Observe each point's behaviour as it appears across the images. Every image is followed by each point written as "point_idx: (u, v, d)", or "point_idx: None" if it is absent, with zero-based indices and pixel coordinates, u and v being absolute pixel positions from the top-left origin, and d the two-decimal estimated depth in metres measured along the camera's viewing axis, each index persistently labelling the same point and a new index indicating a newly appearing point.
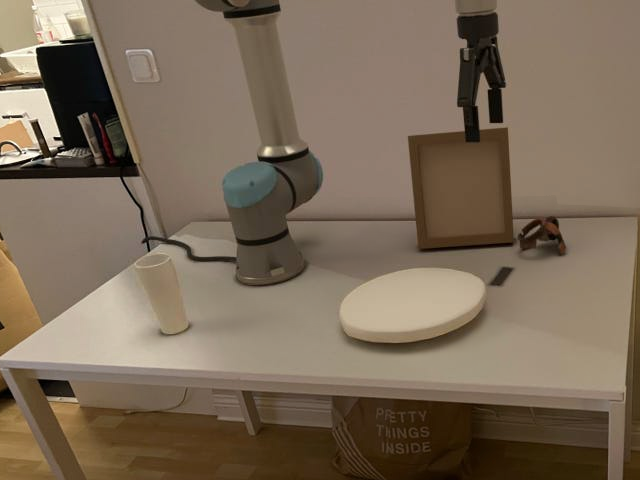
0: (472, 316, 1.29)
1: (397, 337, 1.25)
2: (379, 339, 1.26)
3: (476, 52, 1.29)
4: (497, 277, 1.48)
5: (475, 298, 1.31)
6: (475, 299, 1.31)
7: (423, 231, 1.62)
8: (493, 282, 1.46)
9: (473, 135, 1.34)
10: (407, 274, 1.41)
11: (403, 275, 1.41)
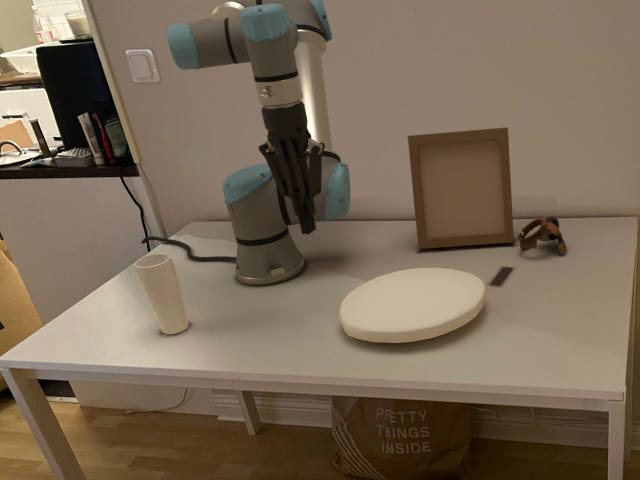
0: (472, 316, 1.29)
1: (397, 337, 1.25)
2: (379, 339, 1.26)
3: (268, 139, 1.28)
4: (497, 277, 1.48)
5: (475, 298, 1.31)
6: (475, 299, 1.31)
7: (423, 231, 1.62)
8: (493, 282, 1.46)
9: None
10: (407, 274, 1.41)
11: (403, 275, 1.41)
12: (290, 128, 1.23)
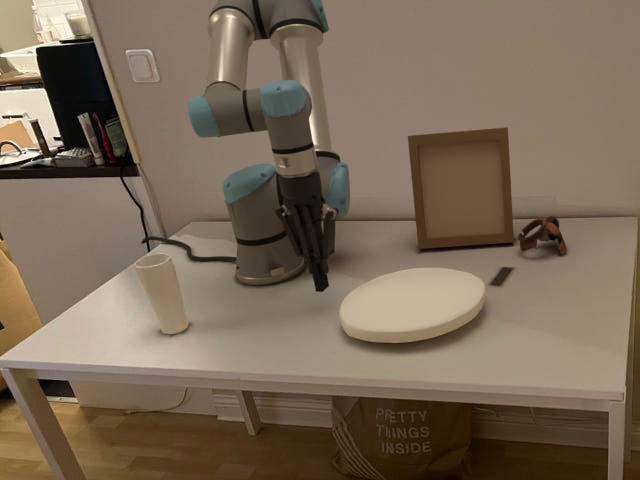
0: (472, 316, 1.29)
1: (397, 338, 1.25)
2: (379, 339, 1.26)
3: (284, 204, 1.34)
4: (497, 277, 1.48)
5: (475, 298, 1.31)
6: (475, 299, 1.31)
7: (423, 231, 1.62)
8: (493, 282, 1.46)
9: None
10: (407, 274, 1.41)
11: (403, 275, 1.41)
12: (306, 196, 1.29)
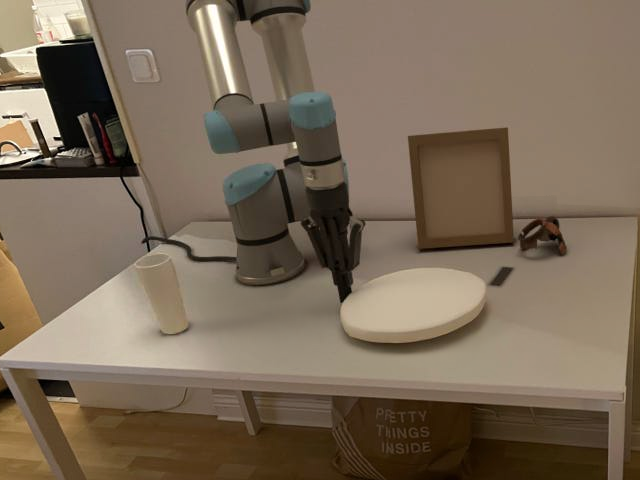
0: (473, 316, 1.29)
1: (398, 338, 1.25)
2: (380, 340, 1.26)
3: (310, 215, 1.33)
4: (497, 277, 1.48)
5: (476, 298, 1.31)
6: (476, 298, 1.30)
7: (423, 231, 1.62)
8: (493, 282, 1.46)
9: None
10: (408, 274, 1.41)
11: (404, 275, 1.41)
12: (333, 208, 1.28)
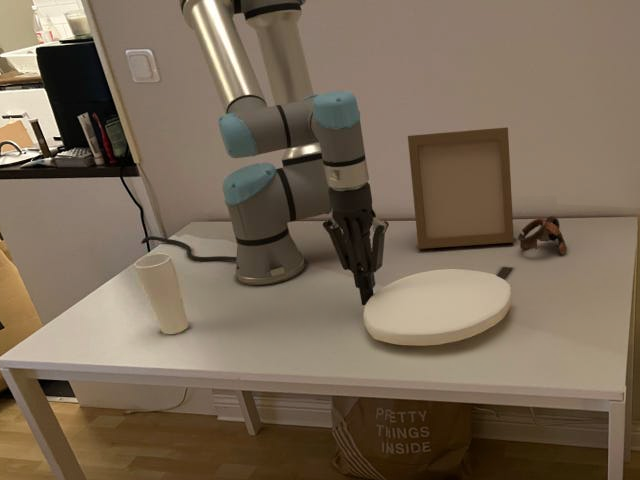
0: (500, 318, 1.27)
1: (425, 340, 1.23)
2: (406, 342, 1.25)
3: (332, 217, 1.32)
4: None
5: (502, 300, 1.29)
6: (502, 300, 1.29)
7: (423, 231, 1.62)
8: None
9: None
10: (430, 276, 1.40)
11: (426, 277, 1.39)
12: (357, 209, 1.26)
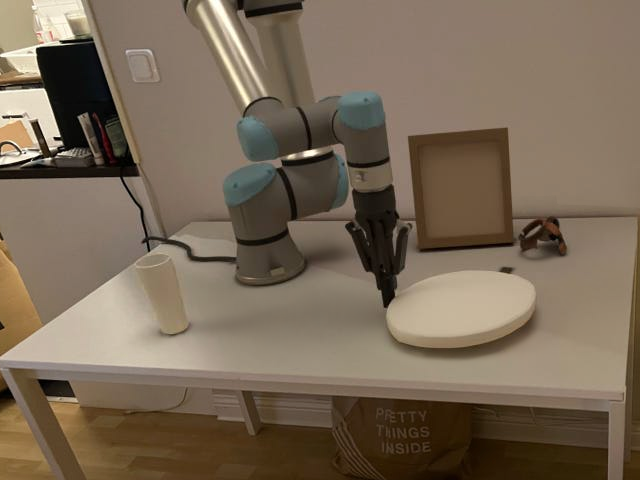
0: (526, 319, 1.26)
1: (452, 343, 1.22)
2: (432, 345, 1.23)
3: (355, 218, 1.30)
4: None
5: (527, 301, 1.28)
6: (528, 301, 1.28)
7: (423, 231, 1.62)
8: None
9: None
10: (452, 277, 1.38)
11: (448, 278, 1.38)
12: (381, 211, 1.25)
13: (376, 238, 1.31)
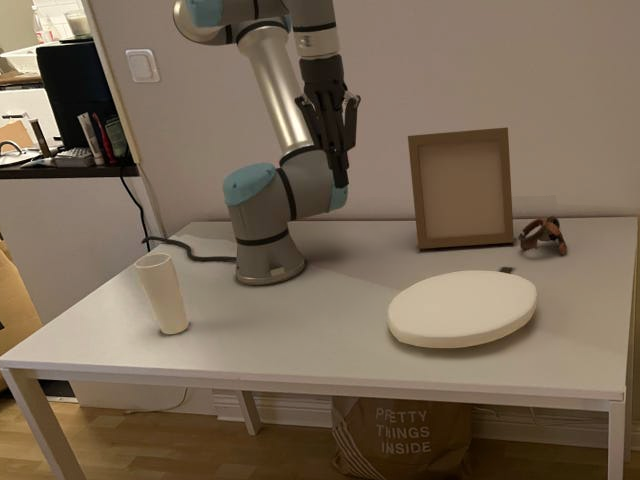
0: (527, 319, 1.26)
1: (453, 343, 1.22)
2: (433, 345, 1.23)
3: (304, 92, 1.29)
4: None
5: (528, 301, 1.28)
6: (528, 302, 1.27)
7: (423, 231, 1.62)
8: None
9: None
10: (453, 277, 1.38)
11: (449, 278, 1.38)
12: (327, 79, 1.24)
13: (325, 113, 1.30)
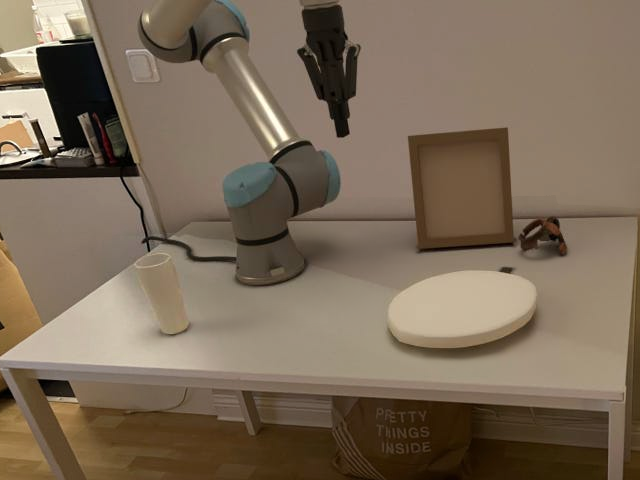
0: (527, 319, 1.26)
1: (453, 343, 1.22)
2: (433, 345, 1.23)
3: (306, 42, 1.35)
4: None
5: (528, 301, 1.28)
6: (528, 302, 1.27)
7: (423, 231, 1.62)
8: None
9: None
10: (453, 277, 1.38)
11: (449, 278, 1.38)
12: (329, 28, 1.30)
13: (327, 63, 1.36)
